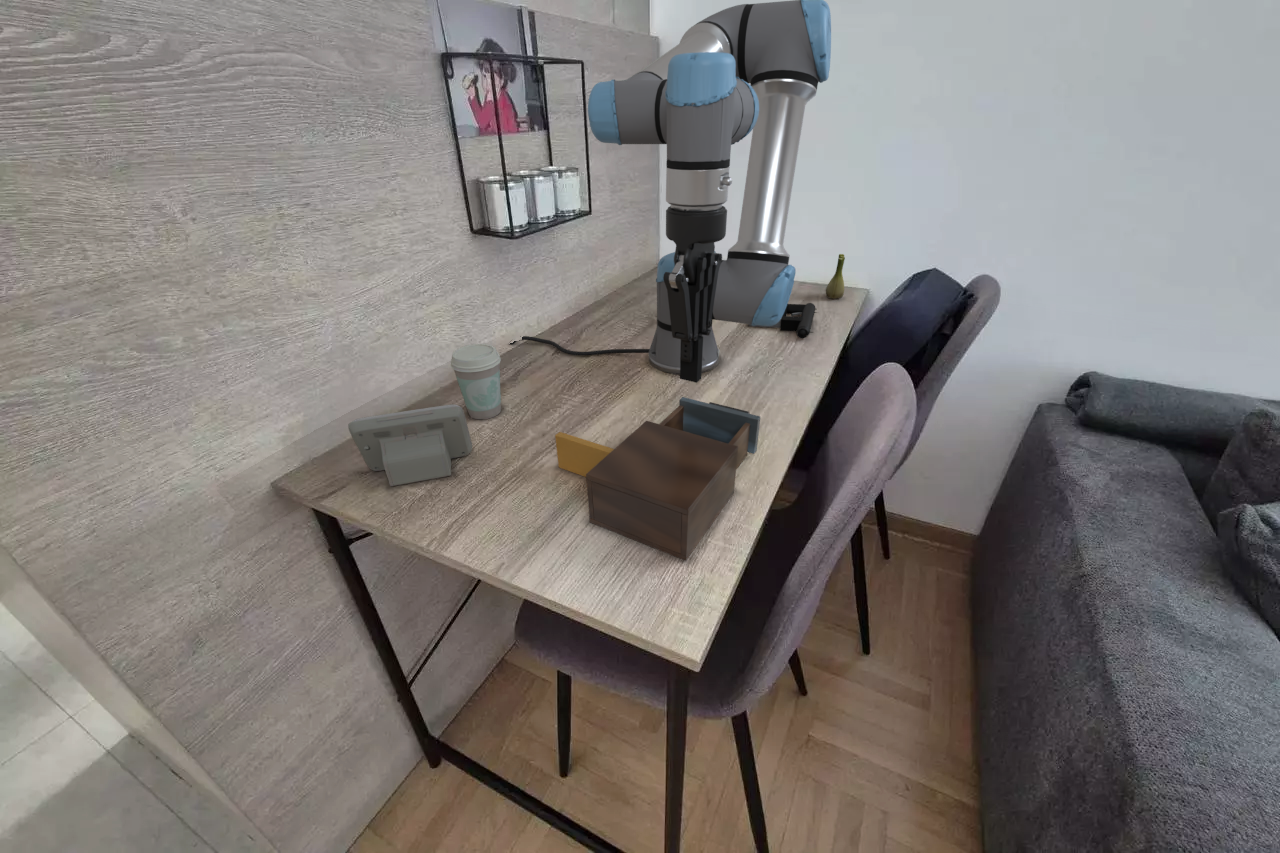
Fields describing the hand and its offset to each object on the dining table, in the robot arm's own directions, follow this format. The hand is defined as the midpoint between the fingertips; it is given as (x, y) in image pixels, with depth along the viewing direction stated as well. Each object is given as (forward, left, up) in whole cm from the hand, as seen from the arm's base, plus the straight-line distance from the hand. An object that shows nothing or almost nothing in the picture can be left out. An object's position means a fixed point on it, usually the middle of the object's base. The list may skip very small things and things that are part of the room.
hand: (690, 378), depth 79 cm
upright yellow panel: (-12, -11, -14) cm, 22 cm away
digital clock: (-36, -22, -15) cm, 44 cm away
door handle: (-6, +66, -15) cm, 68 cm away
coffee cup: (-40, -4, -15) cm, 43 cm away
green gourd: (0, +93, -15) cm, 94 cm away
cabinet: (+2, -12, -14) cm, 19 cm away
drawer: (+2, +2, -14) cm, 14 cm away
